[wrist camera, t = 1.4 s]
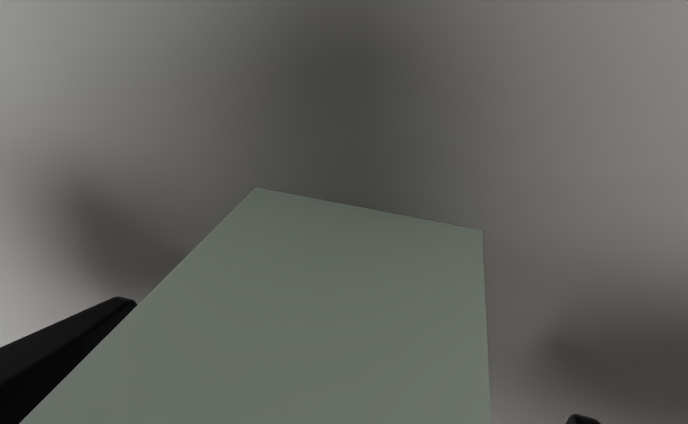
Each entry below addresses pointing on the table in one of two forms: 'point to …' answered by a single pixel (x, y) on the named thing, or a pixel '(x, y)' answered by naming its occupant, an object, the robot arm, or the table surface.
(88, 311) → the robot arm
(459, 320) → the sage block
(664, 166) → the table surface
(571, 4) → the table surface
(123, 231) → the table surface
